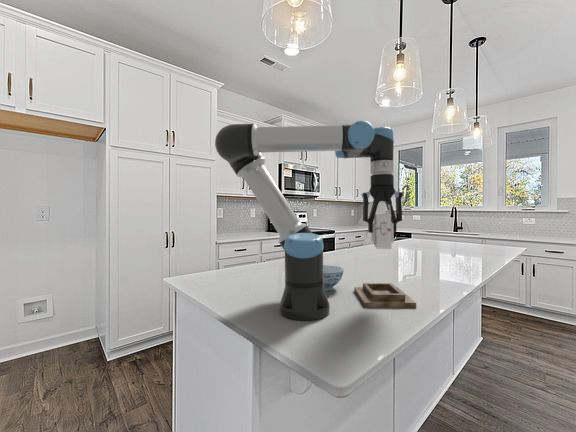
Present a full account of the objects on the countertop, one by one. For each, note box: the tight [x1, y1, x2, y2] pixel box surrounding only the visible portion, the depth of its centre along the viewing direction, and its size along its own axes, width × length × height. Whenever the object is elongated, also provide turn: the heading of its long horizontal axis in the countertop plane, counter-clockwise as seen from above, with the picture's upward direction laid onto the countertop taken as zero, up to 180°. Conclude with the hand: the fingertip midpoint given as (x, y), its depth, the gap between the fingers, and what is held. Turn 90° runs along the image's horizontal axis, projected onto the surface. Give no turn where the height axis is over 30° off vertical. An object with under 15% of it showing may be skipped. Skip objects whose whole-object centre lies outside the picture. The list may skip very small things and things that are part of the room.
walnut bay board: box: [353, 282, 417, 309], centre depth 100 cm, size 16×18×4 cm
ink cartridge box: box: [373, 204, 392, 250], centre depth 99 cm, size 9×5×15 cm, turn 169°
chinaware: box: [323, 264, 345, 292], centre depth 114 cm, size 15×15×8 cm
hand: (382, 242), depth 99 cm, fingers closed on ink cartridge box, 5 cm apart
